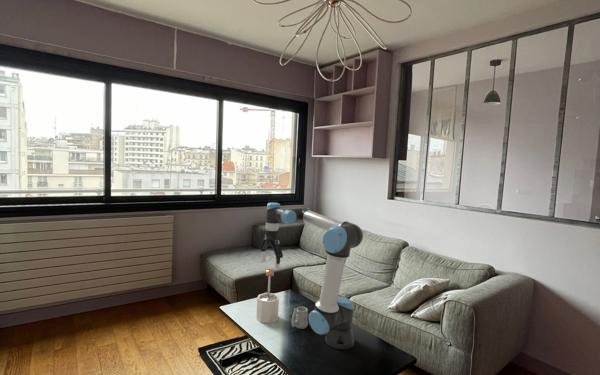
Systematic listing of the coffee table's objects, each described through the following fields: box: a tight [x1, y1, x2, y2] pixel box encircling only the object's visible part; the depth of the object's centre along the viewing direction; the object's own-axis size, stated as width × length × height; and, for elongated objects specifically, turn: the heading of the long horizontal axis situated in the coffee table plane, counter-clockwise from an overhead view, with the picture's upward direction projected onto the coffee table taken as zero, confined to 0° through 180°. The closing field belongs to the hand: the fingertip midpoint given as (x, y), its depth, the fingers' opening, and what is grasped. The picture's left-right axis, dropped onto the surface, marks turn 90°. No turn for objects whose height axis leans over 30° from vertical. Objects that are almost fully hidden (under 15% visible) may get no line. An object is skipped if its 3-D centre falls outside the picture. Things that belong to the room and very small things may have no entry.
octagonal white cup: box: [256, 292, 280, 324], centre depth 198 cm, size 16×12×13 cm
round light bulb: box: [260, 268, 276, 301], centre depth 196 cm, size 9×9×18 cm
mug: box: [290, 306, 309, 330], centre depth 189 cm, size 8×12×12 cm, turn 136°
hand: (269, 265), depth 195 cm, fingers open, 13 cm apart
